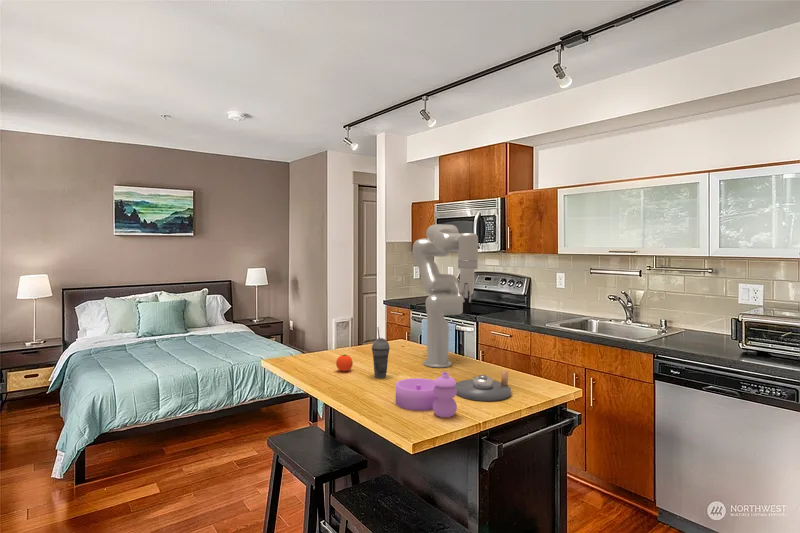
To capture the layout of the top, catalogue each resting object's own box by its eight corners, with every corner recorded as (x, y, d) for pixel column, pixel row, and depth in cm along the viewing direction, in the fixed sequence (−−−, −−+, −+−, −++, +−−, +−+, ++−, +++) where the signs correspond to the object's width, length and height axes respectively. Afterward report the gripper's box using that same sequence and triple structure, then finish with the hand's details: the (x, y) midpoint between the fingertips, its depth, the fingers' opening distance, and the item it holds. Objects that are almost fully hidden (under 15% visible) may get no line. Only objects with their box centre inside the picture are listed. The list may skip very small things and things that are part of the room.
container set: (386, 401, 161) (387, 362, 160) (422, 393, 169) (423, 357, 169) (432, 423, 140) (433, 379, 140) (471, 414, 149) (471, 372, 148)
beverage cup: (387, 379, 186) (387, 329, 186) (369, 378, 188) (369, 328, 187) (391, 375, 194) (391, 326, 193) (373, 374, 195) (374, 325, 194)
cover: (469, 385, 173) (469, 374, 172) (486, 383, 175) (487, 372, 175) (478, 390, 166) (478, 379, 166) (496, 389, 168) (496, 377, 168)
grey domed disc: (446, 386, 178) (446, 367, 178) (495, 383, 183) (495, 365, 183) (466, 402, 158) (467, 382, 158) (521, 398, 164) (521, 378, 163)
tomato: (337, 368, 204) (337, 352, 203) (353, 368, 204) (353, 352, 203) (334, 373, 196) (334, 356, 195) (351, 373, 196) (351, 356, 195)
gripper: (460, 264, 192) (459, 310, 192) (455, 265, 177) (455, 314, 178) (478, 265, 190) (478, 310, 190) (476, 266, 175) (475, 315, 176)
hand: (467, 312), depth 184 cm, fingers closed
